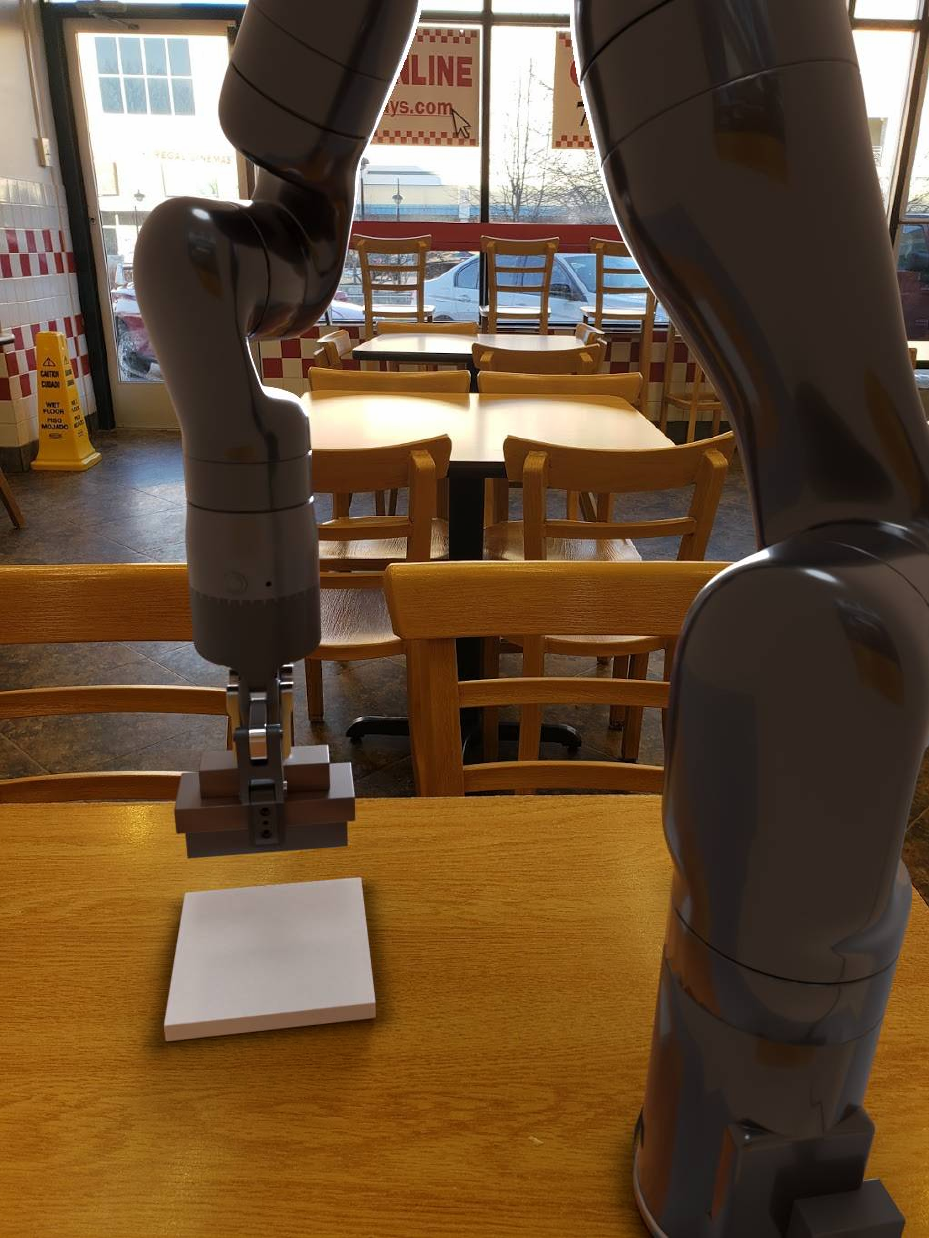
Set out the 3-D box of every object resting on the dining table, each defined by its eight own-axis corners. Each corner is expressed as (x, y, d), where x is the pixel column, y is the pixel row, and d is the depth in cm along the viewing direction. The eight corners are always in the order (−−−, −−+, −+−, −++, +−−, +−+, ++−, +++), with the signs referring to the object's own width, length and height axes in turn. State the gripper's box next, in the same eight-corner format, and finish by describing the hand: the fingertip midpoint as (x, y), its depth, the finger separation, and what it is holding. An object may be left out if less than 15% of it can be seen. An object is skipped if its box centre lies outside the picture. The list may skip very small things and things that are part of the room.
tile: (375, 1018, 56) (375, 1002, 55) (165, 1041, 54) (163, 1025, 53) (361, 890, 67) (360, 876, 66) (186, 906, 65) (184, 892, 64)
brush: (351, 810, 64) (350, 735, 62) (355, 847, 60) (354, 769, 58) (185, 821, 63) (178, 745, 60) (178, 861, 59) (170, 781, 56)
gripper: (323, 615, 49) (331, 885, 55) (316, 536, 62) (323, 762, 68) (174, 620, 48) (199, 896, 54) (199, 538, 61) (217, 768, 67)
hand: (268, 819), depth 61 cm, fingers closed on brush, 4 cm apart
